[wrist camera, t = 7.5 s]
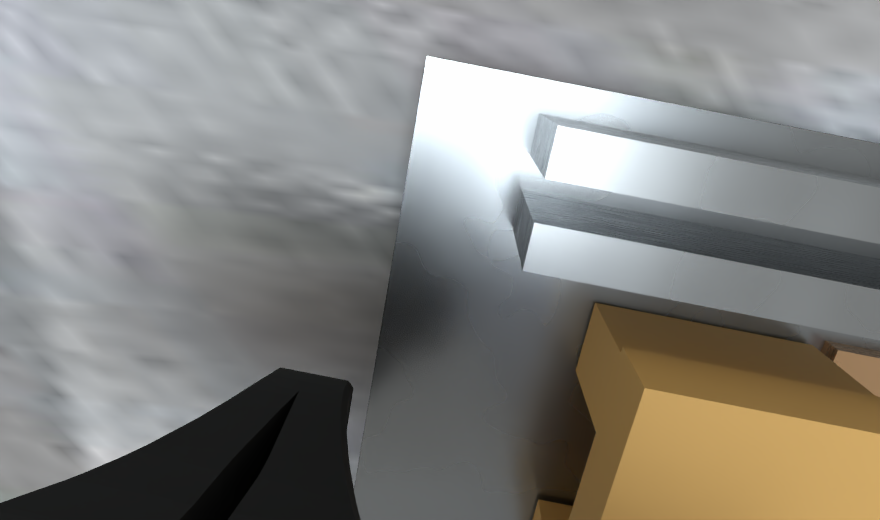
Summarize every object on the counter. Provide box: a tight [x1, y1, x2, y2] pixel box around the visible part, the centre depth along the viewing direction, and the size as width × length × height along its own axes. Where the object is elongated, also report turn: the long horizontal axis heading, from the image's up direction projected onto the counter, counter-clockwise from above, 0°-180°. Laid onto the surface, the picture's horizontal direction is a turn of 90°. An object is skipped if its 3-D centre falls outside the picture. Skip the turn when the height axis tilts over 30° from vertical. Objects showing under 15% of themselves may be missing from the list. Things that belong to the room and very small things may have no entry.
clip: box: [533, 303, 880, 520], centre depth 10 cm, size 6×4×3 cm, turn 170°
